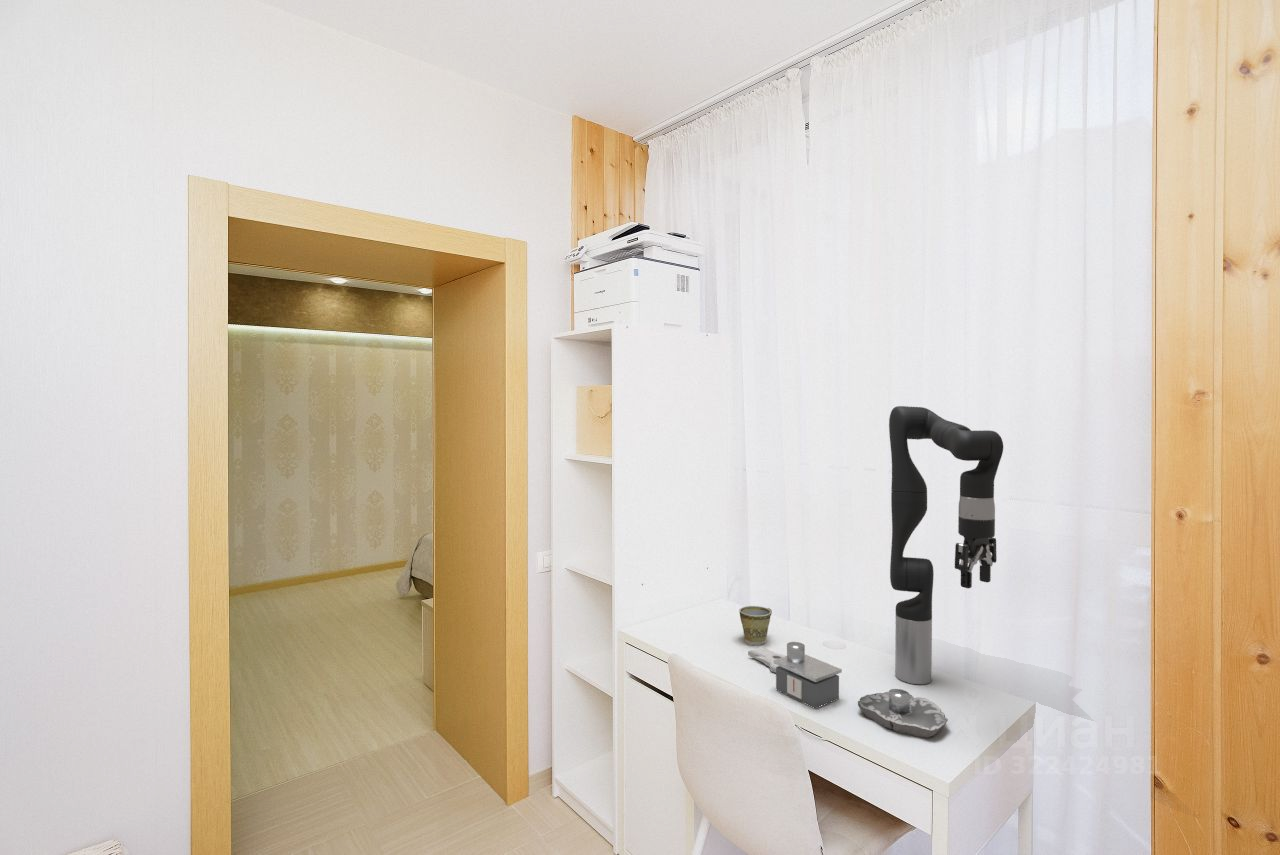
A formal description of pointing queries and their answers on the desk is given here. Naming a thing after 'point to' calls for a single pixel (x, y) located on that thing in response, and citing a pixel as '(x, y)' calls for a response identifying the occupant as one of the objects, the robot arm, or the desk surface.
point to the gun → (765, 657)
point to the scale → (807, 687)
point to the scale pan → (809, 668)
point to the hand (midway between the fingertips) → (975, 584)
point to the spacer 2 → (899, 701)
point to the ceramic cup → (755, 623)
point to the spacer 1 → (795, 652)
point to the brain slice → (904, 715)
